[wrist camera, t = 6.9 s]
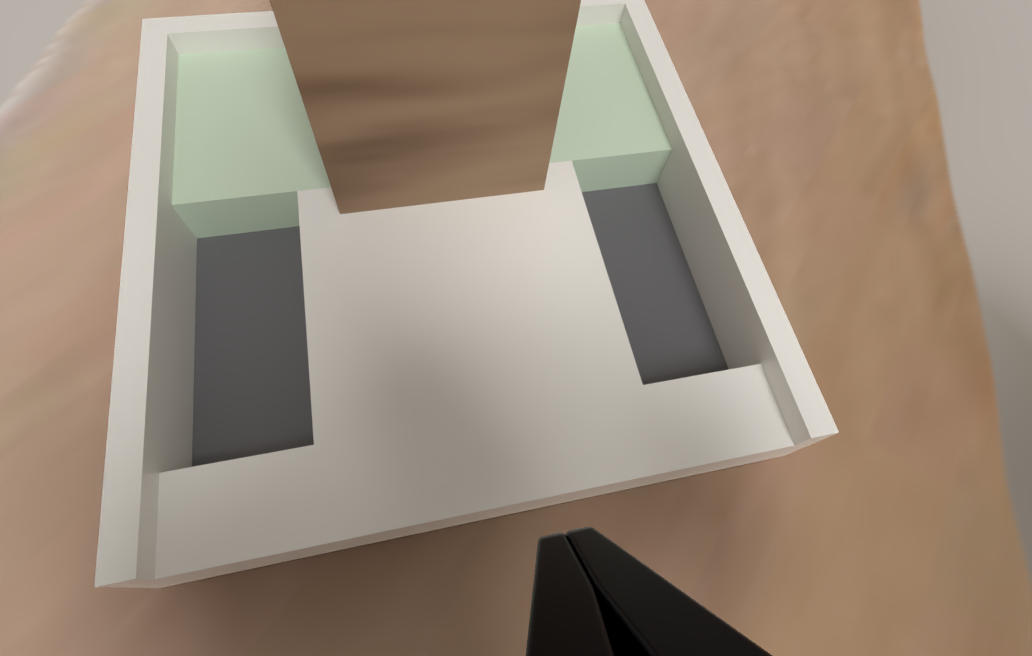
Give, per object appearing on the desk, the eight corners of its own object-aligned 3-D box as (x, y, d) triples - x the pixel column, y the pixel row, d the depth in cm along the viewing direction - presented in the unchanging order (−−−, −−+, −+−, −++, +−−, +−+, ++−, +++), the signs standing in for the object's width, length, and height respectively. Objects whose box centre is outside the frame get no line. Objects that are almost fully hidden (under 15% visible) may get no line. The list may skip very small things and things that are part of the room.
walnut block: (543, 189, 23) (596, -76, 14) (339, 214, 21) (249, -61, 12) (504, 51, 26) (525, -238, 17) (324, 65, 25) (243, -240, 16)
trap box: (783, 456, 21) (838, 432, 18) (159, 588, 18) (94, 587, 15) (620, 51, 30) (639, -12, 27) (180, 86, 27) (142, 19, 24)
